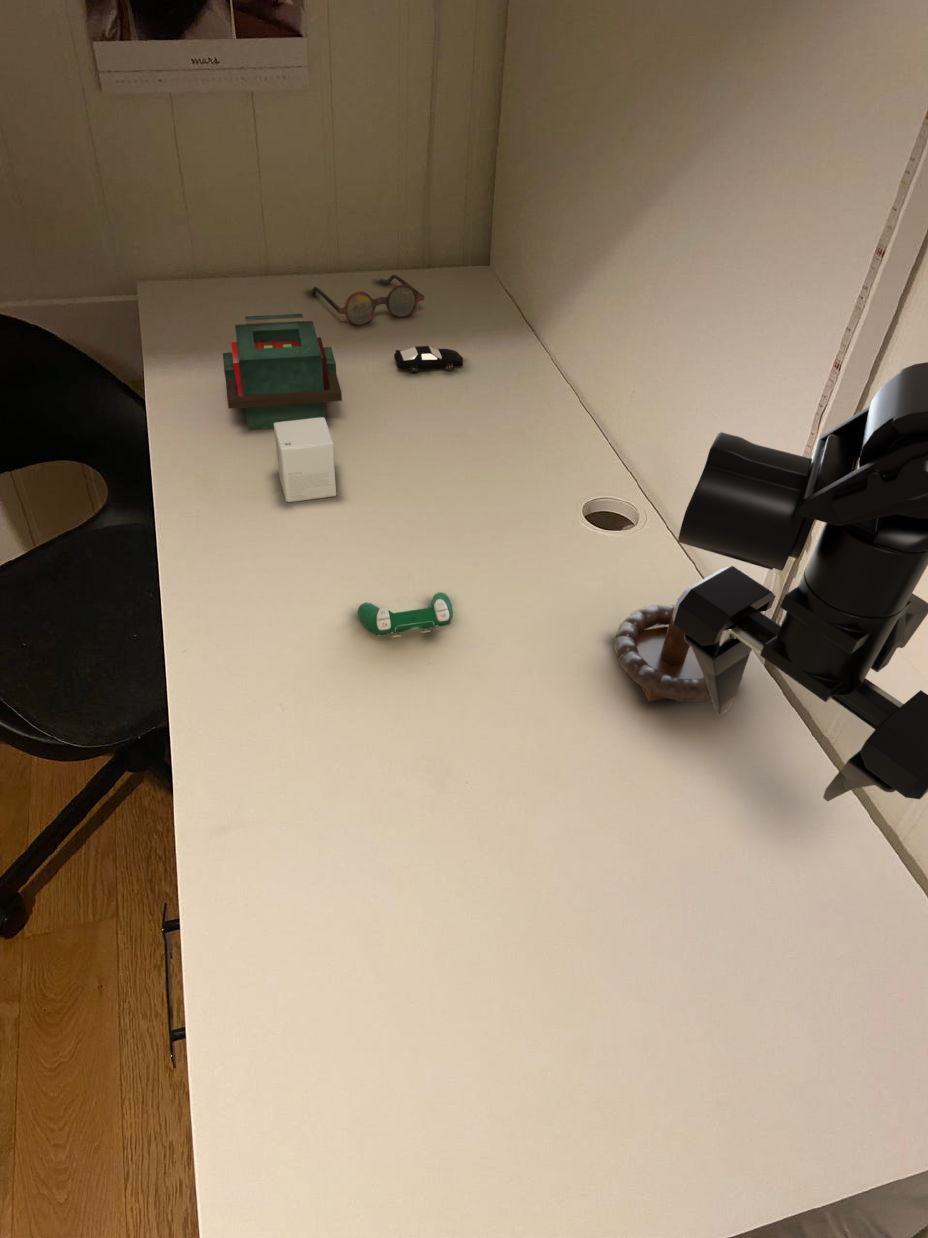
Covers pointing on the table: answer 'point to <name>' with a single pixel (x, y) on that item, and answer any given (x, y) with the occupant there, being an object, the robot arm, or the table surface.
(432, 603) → the gaming controller
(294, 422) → the product box
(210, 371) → the table surface
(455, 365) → the toy car
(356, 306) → the eyeglasses
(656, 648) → the peg stand
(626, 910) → the table surface
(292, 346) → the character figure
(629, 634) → the ring
